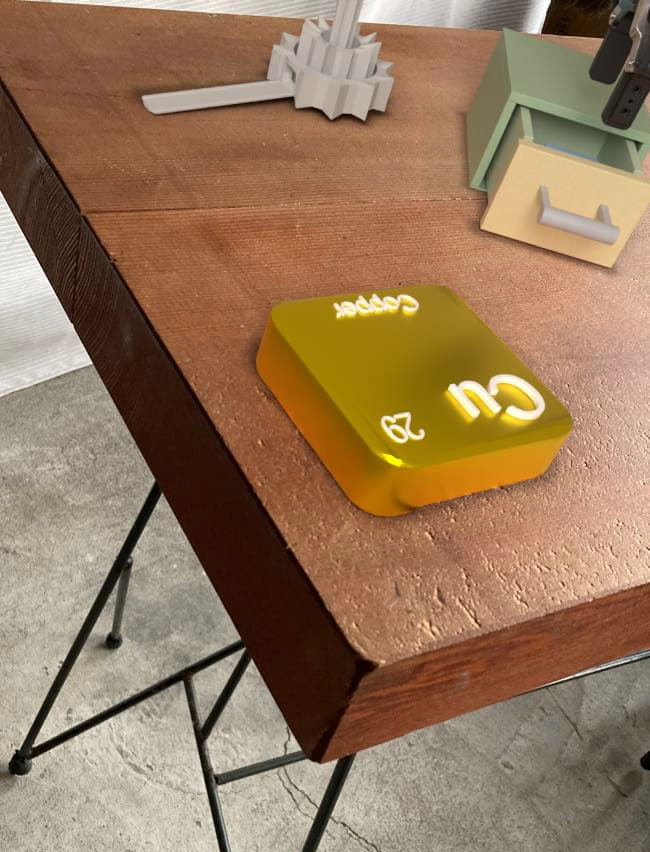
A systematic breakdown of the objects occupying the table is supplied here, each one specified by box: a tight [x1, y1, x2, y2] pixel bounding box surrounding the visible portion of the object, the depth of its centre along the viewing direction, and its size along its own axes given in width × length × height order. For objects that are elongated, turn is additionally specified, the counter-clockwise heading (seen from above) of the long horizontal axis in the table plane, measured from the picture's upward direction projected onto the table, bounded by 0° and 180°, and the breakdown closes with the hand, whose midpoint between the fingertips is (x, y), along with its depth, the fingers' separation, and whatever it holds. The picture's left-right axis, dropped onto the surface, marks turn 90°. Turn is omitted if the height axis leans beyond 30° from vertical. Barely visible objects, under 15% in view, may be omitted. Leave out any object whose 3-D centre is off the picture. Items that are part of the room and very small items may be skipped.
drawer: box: [479, 103, 650, 269], centre depth 80 cm, size 18×11×7 cm, turn 172°
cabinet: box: [465, 26, 650, 193], centre depth 88 cm, size 15×13×9 cm
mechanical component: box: [141, 0, 395, 122], centre depth 82 cm, size 11×25×15 cm, turn 136°
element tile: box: [255, 284, 574, 518], centre depth 60 cm, size 15×15×5 cm
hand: (606, 102), depth 75 cm, fingers open, 8 cm apart
